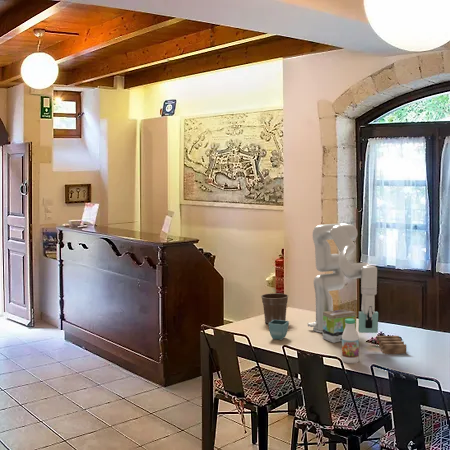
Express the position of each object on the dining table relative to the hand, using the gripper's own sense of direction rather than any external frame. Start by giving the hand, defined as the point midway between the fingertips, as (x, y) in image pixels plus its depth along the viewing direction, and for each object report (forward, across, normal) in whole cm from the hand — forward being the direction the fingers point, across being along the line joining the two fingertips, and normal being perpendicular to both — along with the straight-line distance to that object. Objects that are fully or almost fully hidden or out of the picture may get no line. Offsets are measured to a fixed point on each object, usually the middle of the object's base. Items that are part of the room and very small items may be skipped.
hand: (368, 326), depth 304 cm
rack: (+11, 0, +12) cm, 16 cm away
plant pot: (+15, -56, -44) cm, 73 cm away
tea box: (+13, -19, -11) cm, 25 cm away
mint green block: (+3, 0, 0) cm, 3 cm away
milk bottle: (+11, +19, -11) cm, 25 cm away
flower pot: (+13, -21, -43) cm, 50 cm away
